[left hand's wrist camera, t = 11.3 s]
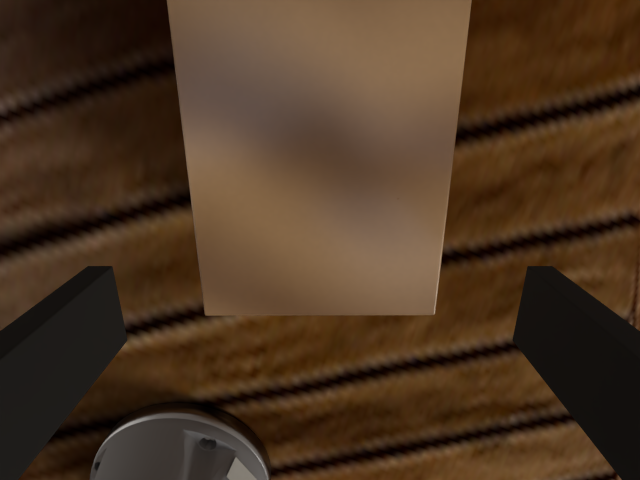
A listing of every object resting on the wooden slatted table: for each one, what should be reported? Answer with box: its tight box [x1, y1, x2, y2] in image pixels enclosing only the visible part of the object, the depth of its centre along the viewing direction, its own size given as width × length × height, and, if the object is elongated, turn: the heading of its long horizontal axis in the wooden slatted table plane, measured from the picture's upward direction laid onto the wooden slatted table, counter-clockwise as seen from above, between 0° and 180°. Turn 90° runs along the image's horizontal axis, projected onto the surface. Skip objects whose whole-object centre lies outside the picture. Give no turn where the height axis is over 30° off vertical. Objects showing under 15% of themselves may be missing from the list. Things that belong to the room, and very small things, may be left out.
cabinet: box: [167, 0, 472, 315], centre depth 20 cm, size 18×11×10 cm, turn 0°
